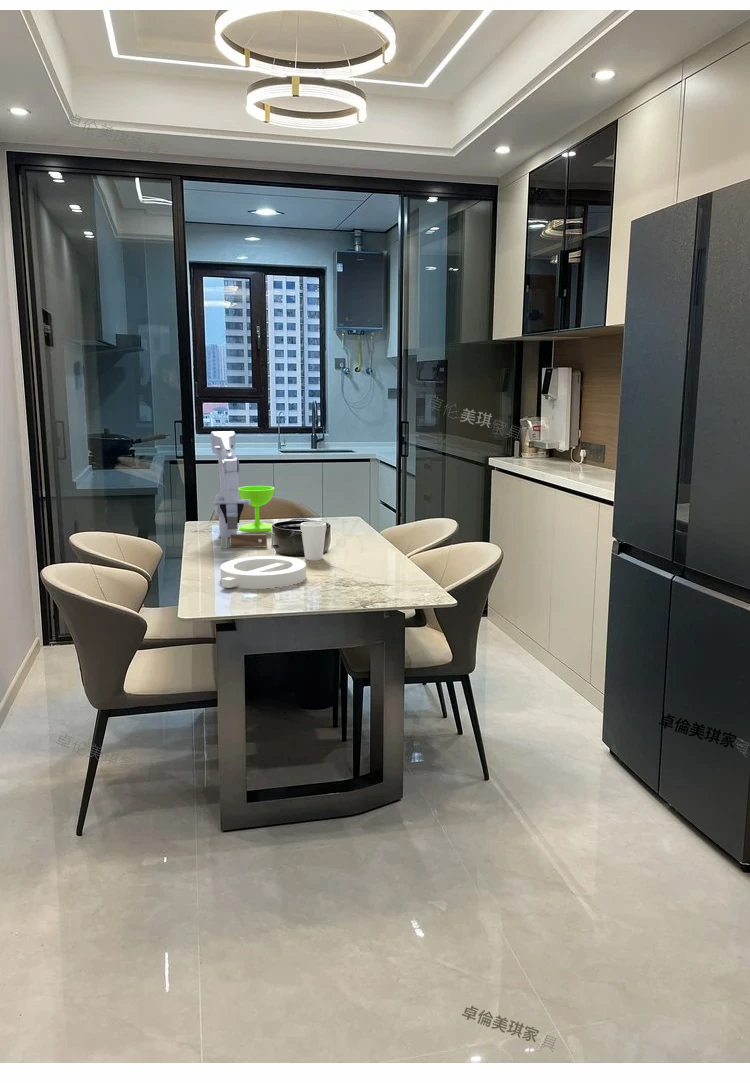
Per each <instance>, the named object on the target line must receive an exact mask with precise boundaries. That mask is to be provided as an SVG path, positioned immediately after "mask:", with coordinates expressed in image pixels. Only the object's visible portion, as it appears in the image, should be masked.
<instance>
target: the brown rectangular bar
mask: <svg viewBox="0 0 750 1083" xmlns="http://www.w3.org/2000/svg"><path fill="white" fill-rule="evenodd" d="M229 538H230V540H229V541H230V542H229V543H230V548H235V547H236V548H242V547H243V548H247V547H248V548H252V547H254V548H257V547H258V548H259V547H260V548H261V547H262V548H263V547H267V546H268V539H267V538H268V537H267V533H254V534H253V533H251V534H249V533H248V534H247V533H246V534H245V533H242V534H239V533H238V534H231V535H230V537H229Z"/></svg>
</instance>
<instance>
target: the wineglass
mask: <svg viewBox="0 0 750 1083" xmlns="http://www.w3.org/2000/svg"><path fill="white" fill-rule="evenodd" d="M238 488H239V499H250V505H249V506H252V507H254V522H253V523H247V524H242V525H241V526H239V527H238V528H239V531H241V532H247V533H263V532H264V533H265V532H271V527H272V525H273V524H272V523H262V522H261V521H260V507H262V506H264V505H266V504H268V503H269V502H270V501H271V500H272V498H273V496H274V494H275V487H274V486H270V485H269V486H268V485H248V486H239V487H238Z"/></svg>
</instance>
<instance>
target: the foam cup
mask: <svg viewBox="0 0 750 1083" xmlns="http://www.w3.org/2000/svg"><path fill="white" fill-rule="evenodd" d="M300 532H302V533H301V539H302V546H303V553H304V559H305V560H307V561H320V560H322V559H323V557H324V551H325V550H324V548H325V540H326V532H327V523H326V522H323V521H304V522H301V523H300Z"/></svg>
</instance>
